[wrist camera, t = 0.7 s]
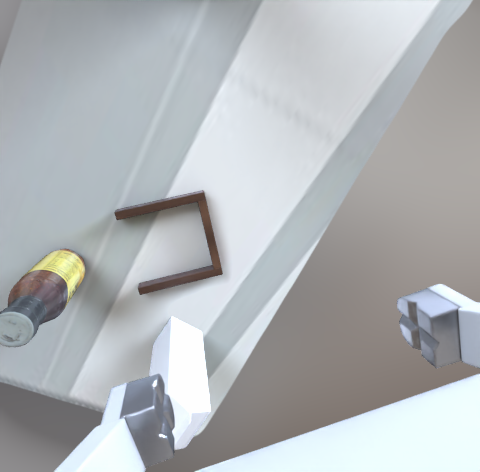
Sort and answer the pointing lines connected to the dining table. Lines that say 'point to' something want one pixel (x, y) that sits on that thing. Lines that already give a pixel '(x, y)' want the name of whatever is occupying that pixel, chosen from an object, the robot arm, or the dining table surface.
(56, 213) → the dining table surface
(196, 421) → the milk
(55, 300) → the sauce bottle
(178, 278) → the bottle bay
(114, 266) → the dining table surface
